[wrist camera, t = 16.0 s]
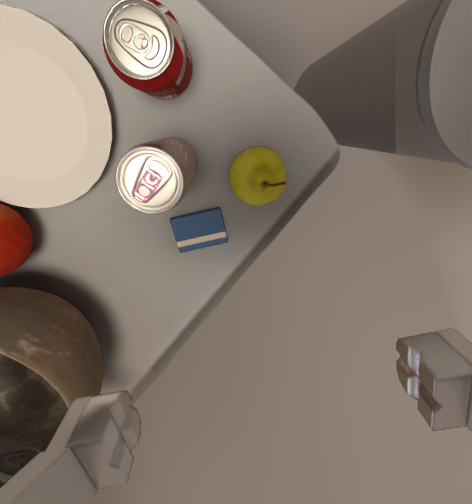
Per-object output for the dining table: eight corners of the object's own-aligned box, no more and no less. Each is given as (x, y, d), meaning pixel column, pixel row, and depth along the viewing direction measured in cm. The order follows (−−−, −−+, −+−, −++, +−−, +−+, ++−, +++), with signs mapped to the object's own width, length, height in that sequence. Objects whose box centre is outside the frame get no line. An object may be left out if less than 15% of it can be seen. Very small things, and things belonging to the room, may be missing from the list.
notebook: (219, 206, 42) (219, 208, 41) (227, 239, 44) (228, 242, 43) (170, 218, 42) (169, 220, 41) (180, 250, 44) (179, 253, 43)
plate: (-105, 12, 32) (-128, 4, 29) (99, 9, 32) (91, 1, 30) (-32, 207, 40) (-45, 211, 38) (131, 200, 40) (126, 204, 38)
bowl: (-48, 370, 49) (-151, 465, 36) (-38, 239, 41) (-166, 297, 27) (102, 404, 54) (62, 499, 40) (138, 292, 46) (103, 364, 32)
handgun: (65, 395, 34) (102, 465, 38) (-87, 424, 34) (-32, 491, 38) (55, 412, 32) (96, 484, 36) (-107, 443, 32) (-46, 511, 36)
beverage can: (141, 166, 39) (99, 189, 25) (166, 126, 37) (136, 127, 24) (180, 194, 41) (161, 229, 27) (205, 157, 39) (199, 174, 25)
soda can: (179, 110, 37) (163, 104, 26) (125, 81, 35) (83, 61, 24) (202, 52, 35) (195, 18, 24) (146, 19, 33) (110, -35, 22)
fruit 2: (234, 203, 42) (241, 231, 31) (222, 152, 39) (224, 163, 28) (283, 191, 41) (308, 214, 30) (274, 139, 39) (297, 144, 28)
